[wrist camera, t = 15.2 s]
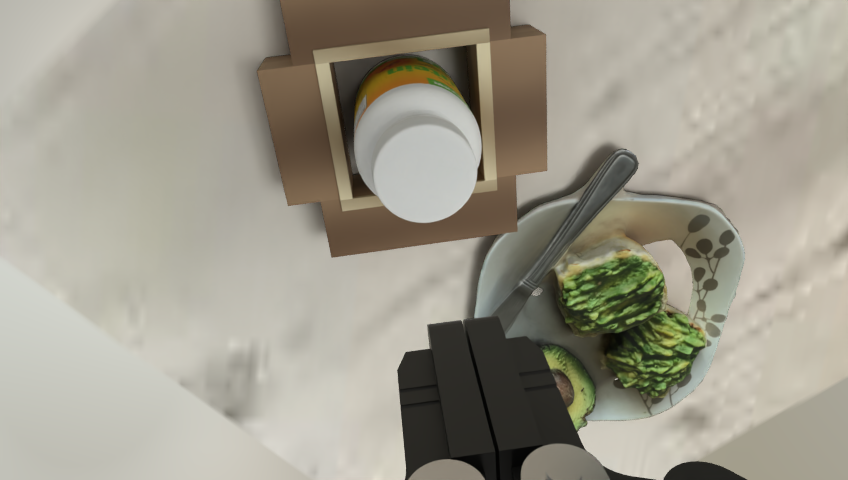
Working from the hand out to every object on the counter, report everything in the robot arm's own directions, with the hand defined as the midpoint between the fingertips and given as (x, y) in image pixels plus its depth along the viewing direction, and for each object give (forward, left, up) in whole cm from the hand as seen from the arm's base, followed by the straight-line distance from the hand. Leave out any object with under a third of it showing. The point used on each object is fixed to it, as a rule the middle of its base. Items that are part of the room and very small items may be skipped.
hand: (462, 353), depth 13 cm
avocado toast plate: (+15, +10, -21) cm, 28 cm away
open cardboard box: (0, 0, -21) cm, 21 cm away
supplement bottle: (0, 0, -21) cm, 21 cm away
